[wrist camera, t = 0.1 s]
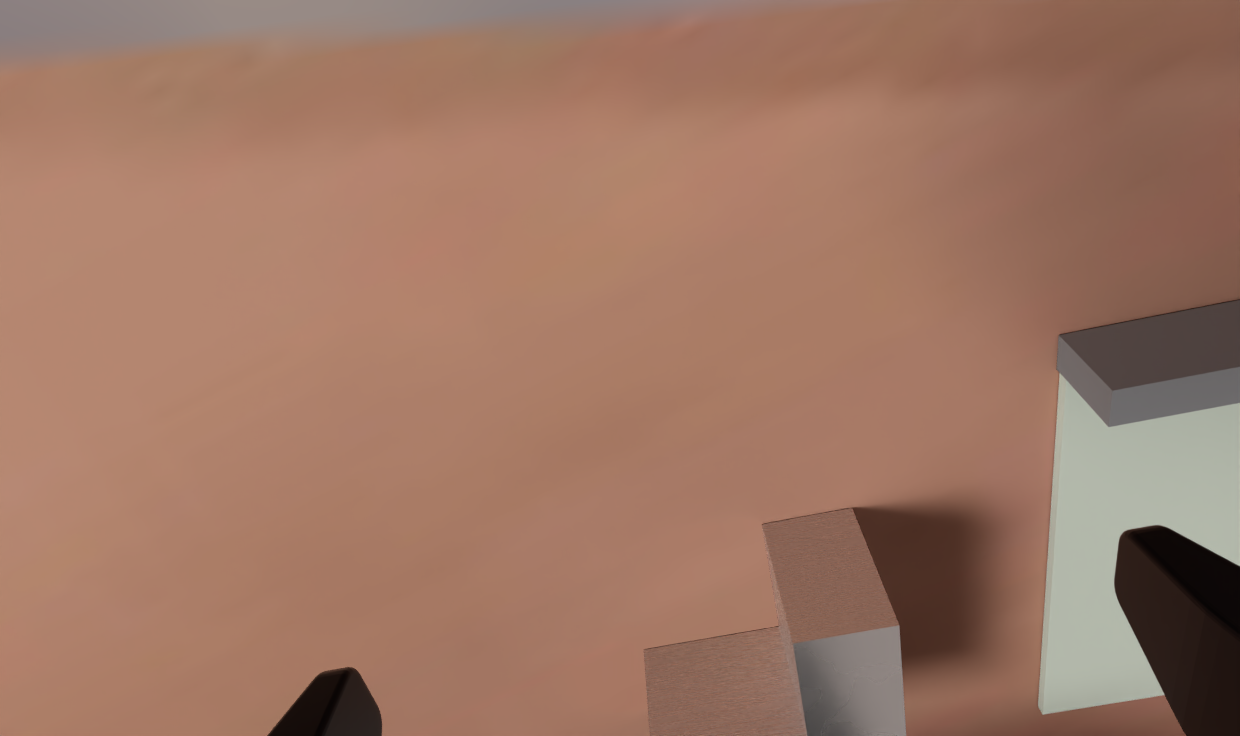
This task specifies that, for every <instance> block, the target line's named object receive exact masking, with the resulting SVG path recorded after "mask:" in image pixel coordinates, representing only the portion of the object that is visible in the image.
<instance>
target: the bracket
mask: <svg viewBox="0 0 1240 736" xmlns="http://www.w3.org/2000/svg"><path fill="white" fill-rule="evenodd" d="M762 528H763V534H764V540H765V546H766V552H767V558H768V564H769V570H770V576H771V582H772V588H773V594H774V600H775V606H776V612H777V618H778V624H779V627H773V628H767V629H761V630H755V631H750V632H744V633H738V634H732V635H727V636H721V637H715V638H709V639H703V640H698V641H692V642H686V643H680V644H674V645H669V646H663V647H657V648H651V649H646V650H644V662H645V676H646V690H647V704H648V718H649V732H650V736H906V725H905V709H904V693H903V676H902V660H901V644H900V627H899V623H898V621H897V618H896V616H895V613H894V611H893V608H892V606H891V603H890V601H889V598H888V596H887V593H886V591H885V588H884V586H883V583H882V581H881V578H880V576H879V573H878V571H877V568H876V566H875V564H874V561H873V559H872V556H871V554H870V551H869V549H868V546H867V544H866V541H865V539H864V536H863V534H862V531H861V529H860V526H859V524H858V521H857V519H856V516H855V514H854V511H853V509H852V508H849V509H843V510H838V511H832V512H827V513H821V514H816V515H810V516H805V517H799V518H794V519H788V520H783V521H777V522H772V523H767V524H762Z"/></svg>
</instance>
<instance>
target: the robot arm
mask: <svg viewBox="0 0 1240 736" xmlns="http://www.w3.org/2000/svg"><path fill="white" fill-rule="evenodd" d="M1114 588H1115V593H1116V596H1117V599H1118V602H1119V604H1120V606H1121V608H1122V610H1123V612H1124V614H1125V616H1126V618H1127V620H1128V622H1129V624H1130V626H1131V628H1132V630H1133V632H1134V634H1135V636H1136V638H1137V640H1138V642H1139V644H1140V646H1141V648H1142V650H1143V652H1144V654H1145V656H1146V658H1147V660H1148V662H1149V664H1150V667H1151V669H1152V671H1153V673H1154V675H1155V677H1156V679H1157V681H1158V683H1159V685H1160V687H1161V689H1162V691H1163V693H1164V695H1165V697H1166V699H1167V701H1168V703H1169V705H1170V707H1171V709H1172V711H1173V712H1174V714H1175V716H1176V718H1177V720H1178V722H1179V724H1180V726H1181V728H1182V729H1183V731H1184V733H1185V734H1186V736H1240V566H1239V565H1237V564H1235V563H1233V562H1231V561H1229V560H1227V559H1226V558H1224V557H1222V556H1220V555H1218V554H1216V553H1214V552H1213V551H1211V550H1209V549H1207V548H1205V547H1203V546H1201V545H1200V544H1198V543H1196V542H1194V541H1192V540H1190V539H1188V538H1186V537H1185V536H1183V535H1181V534H1179V533H1177V532H1175V531H1173V530H1172V529H1170V528H1167V527H1165V526H1161V525H1152V526H1146V527H1140V528H1135V529H1129V530H1126V531H1124V532H1123V533H1122V534H1121V536H1120V538H1119V543H1118V552H1117V560H1116V568H1115V576H1114ZM267 736H382V719H381V714H380V711H379V708H378V706H377V704H376V702H375V700H374V698H373V697H372V695H371V693H370V691H369V690H368V688H367V686H366V684H365V682H364V681H363V679H362V677H361V675H360V674H359V672H358V671H357V670H356V669H354V668H352V667H346V668H340V669H335V670H329V671H324V672H322V673H320V674H319V675H318V676H316V677H315V679H314V680H313V681H312V682H311V683H310V684H309V686H308V687H307V688H306V689H305V691H304V692H303V693H302V694H301V695H300V697H299V698H298V699H297V700H296V701H295V703H294V704H293V705H292V706H291V707H290V709H289V710H288V711H287V712H286V714H285V715H284V716H283V717H282V718H281V720H280V721H279V722H278V723H277V724H276V726H275V727H274V728H273V729H272V731H271V732H270V733H269V734H268V735H267Z"/></svg>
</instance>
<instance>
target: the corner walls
mask: <svg viewBox="0 0 1240 736" xmlns="http://www.w3.org/2000/svg"><path fill="white" fill-rule="evenodd" d="M1057 370H1058V371H1059V372H1060V374H1061V375H1062V376H1063V377H1064V378H1065V379H1066V380H1067V381H1068V382H1069V384H1070V385H1071V386H1072V387H1073V388H1074V389H1075V390H1076V391H1077V393H1078V394H1079V395H1080V396H1081V397H1082V398H1083V399H1084V400H1085V401H1086V403H1087V404H1088V405H1089V406H1090V407H1091V408H1092V409H1093V410H1094V411H1095V413H1096V414H1097V415H1098V416H1099V417H1100V418H1101V419H1102V420H1103V421H1104V423H1105V424H1106V425H1107V426H1108V427H1113V426H1118V425H1123V424H1129V423H1134V422H1140V421H1145V420H1150V419H1156V418H1161V417H1166V416H1172V415H1177V414H1183V413H1188V412H1193V411H1199V410H1204V409H1209V408H1215V407H1220V406H1226V405H1231V404H1236V403H1240V300H1237V301H1231V302H1226V303H1221V304H1216V305H1211V306H1206V307H1201V308H1195V309H1190V310H1185V311H1180V312H1175V313H1170V314H1165V315H1160V316H1154V317H1149V318H1144V319H1139V320H1134V321H1129V322H1124V323H1119V324H1113V325H1108V326H1103V327H1098V328H1093V329H1088V330H1083V331H1078V332H1072V333H1067V334H1062V335H1059V340H1058V356H1057Z"/></svg>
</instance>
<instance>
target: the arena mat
mask: <svg viewBox="0 0 1240 736" xmlns="http://www.w3.org/2000/svg"><path fill="white" fill-rule="evenodd" d="M1152 525H1161V526H1165V527H1167V528H1170V529H1172V530H1173V531H1175V532H1177V533H1179V534H1181V535H1183V536H1185V537H1186V538H1188V539H1190V540H1192V541H1194V542H1196V543H1198V544H1200V545H1201V546H1203V547H1205V548H1207V549H1209V550H1211V551H1213V552H1214V553H1216V554H1218V555H1220V556H1222V557H1224V558H1226V559H1227V560H1229V561H1231V562H1233V563H1235V564H1237V565H1239V566H1240V403H1236V404H1231V405H1226V406H1220V407H1215V408H1209V409H1204V410H1199V411H1193V412H1188V413H1183V414H1177V415H1172V416H1166V417H1161V418H1156V419H1150V420H1145V421H1140V422H1134V423H1129V424H1123V425H1118V426H1113V427H1108V426H1107V425H1106V424H1105V423H1104V421H1103V420H1102V419H1101V418H1100V417H1099V416H1098V415H1097V414H1096V413H1095V411H1094V410H1093V409H1092V408H1091V407H1090V406H1089V405H1088V404H1087V403H1086V401H1085V400H1084V399H1083V398H1082V397H1081V396H1080V395H1079V394H1078V393H1077V391H1076V390H1075V389H1074V388H1073V387H1072V386H1071V385H1070V384H1069V382H1068V381H1067V380H1066V379H1065V378H1064V377H1063V376H1062V375H1061V374H1060V377H1059V392H1058V408H1057V423H1056V438H1055V454H1054V469H1053V484H1052V499H1051V515H1050V530H1049V545H1048V561H1047V576H1046V591H1045V606H1044V622H1043V637H1042V652H1041V668H1040V683H1039V698H1038V707H1039V709H1040V711H1041V712H1042V714H1049V713H1056V712H1062V711H1068V710H1074V709H1080V708H1087V707H1093V706H1099V705H1105V704H1111V703H1118V702H1124V701H1130V700H1136V699H1143V698H1149V697H1155V696H1161V695H1164V693H1163V691H1162V689H1161V687H1160V685H1159V683H1158V681H1157V679H1156V677H1155V675H1154V673H1153V671H1152V669H1151V667H1150V664H1149V662H1148V660H1147V658H1146V656H1145V654H1144V652H1143V650H1142V648H1141V646H1140V644H1139V642H1138V640H1137V638H1136V636H1135V634H1134V632H1133V630H1132V628H1131V626H1130V624H1129V622H1128V620H1127V618H1126V616H1125V614H1124V612H1123V610H1122V608H1121V606H1120V604H1119V602H1118V599H1117V596H1116V593H1115V588H1114V576H1115V568H1116V560H1117V552H1118V543H1119V538H1120V536H1121V534H1122V533H1123V532H1124V531H1126V530H1129V529H1135V528H1140V527H1146V526H1152Z"/></svg>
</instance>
